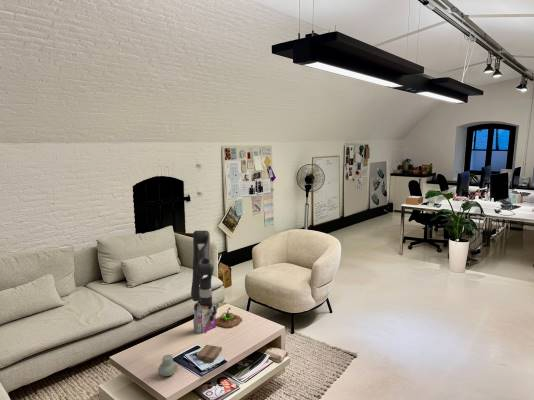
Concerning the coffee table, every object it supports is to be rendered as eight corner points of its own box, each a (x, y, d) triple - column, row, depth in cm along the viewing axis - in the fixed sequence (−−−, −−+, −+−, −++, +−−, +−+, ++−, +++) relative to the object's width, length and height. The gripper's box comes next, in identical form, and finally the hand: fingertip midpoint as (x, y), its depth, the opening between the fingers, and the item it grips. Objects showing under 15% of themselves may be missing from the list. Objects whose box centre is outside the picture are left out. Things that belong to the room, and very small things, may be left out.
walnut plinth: (197, 359, 235) (196, 355, 235) (206, 348, 248) (206, 344, 247) (213, 362, 232) (212, 357, 232) (221, 351, 244) (221, 347, 244)
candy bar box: (202, 334, 232) (201, 308, 230) (197, 331, 235) (196, 306, 233) (216, 327, 240) (215, 303, 238) (211, 325, 243) (210, 301, 241)
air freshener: (168, 379, 215) (167, 363, 214) (156, 376, 219) (155, 360, 217) (179, 369, 225) (179, 353, 224) (168, 366, 229) (167, 351, 227)
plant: (246, 320, 288) (246, 306, 286) (231, 331, 272) (230, 316, 270) (226, 314, 298) (225, 301, 297) (209, 324, 282) (209, 310, 281)
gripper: (192, 295, 233) (193, 321, 236) (213, 298, 229) (214, 324, 231) (198, 291, 240) (199, 316, 243) (218, 293, 236) (219, 319, 238)
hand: (206, 320), depth 237 cm, fingers closed on candy bar box, 6 cm apart
